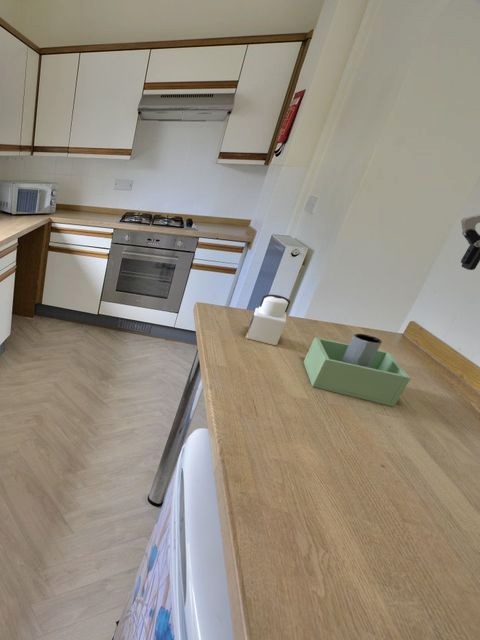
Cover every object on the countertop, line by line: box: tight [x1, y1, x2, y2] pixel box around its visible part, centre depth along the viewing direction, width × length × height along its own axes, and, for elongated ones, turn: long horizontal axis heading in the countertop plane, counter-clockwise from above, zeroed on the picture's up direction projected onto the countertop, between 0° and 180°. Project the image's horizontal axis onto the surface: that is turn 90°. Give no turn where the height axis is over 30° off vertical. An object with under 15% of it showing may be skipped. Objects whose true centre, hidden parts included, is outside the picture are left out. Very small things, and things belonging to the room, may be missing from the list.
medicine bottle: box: [245, 294, 291, 346], centre depth 110 cm, size 7×7×12 cm
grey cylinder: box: [341, 333, 383, 367], centre depth 89 cm, size 4×4×10 cm
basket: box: [303, 336, 412, 408], centre depth 90 cm, size 14×14×7 cm
